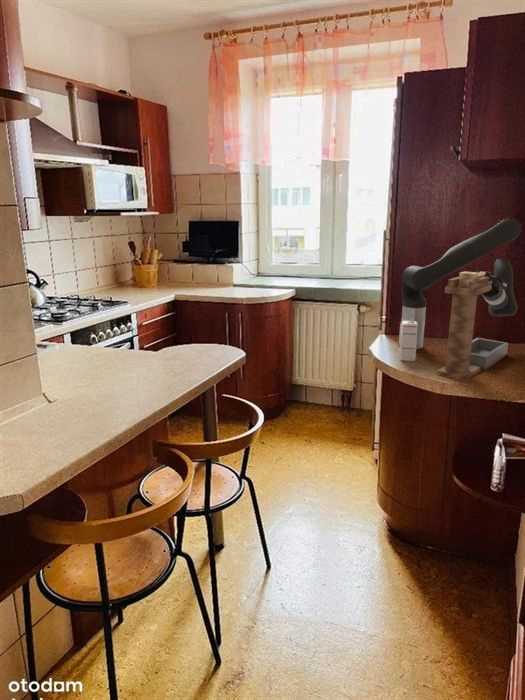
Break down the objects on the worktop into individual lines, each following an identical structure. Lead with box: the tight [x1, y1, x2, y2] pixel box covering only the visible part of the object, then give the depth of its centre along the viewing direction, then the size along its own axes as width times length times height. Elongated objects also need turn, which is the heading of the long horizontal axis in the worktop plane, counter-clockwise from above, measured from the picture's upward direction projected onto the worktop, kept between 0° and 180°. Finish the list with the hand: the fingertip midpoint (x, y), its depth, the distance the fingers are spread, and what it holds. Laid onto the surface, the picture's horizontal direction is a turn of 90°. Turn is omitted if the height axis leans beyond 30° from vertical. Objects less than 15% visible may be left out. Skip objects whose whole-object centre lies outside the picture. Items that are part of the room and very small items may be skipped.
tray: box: [469, 337, 509, 371], centre depth 194 cm, size 12×24×5 cm, turn 138°
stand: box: [436, 276, 491, 381], centre depth 175 cm, size 10×14×34 cm
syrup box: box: [399, 320, 418, 362], centre depth 194 cm, size 6×6×14 cm
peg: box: [458, 271, 491, 287], centre depth 175 cm, size 4×18×4 cm, turn 138°
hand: (481, 273), depth 178 cm, fingers closed on peg, 3 cm apart
